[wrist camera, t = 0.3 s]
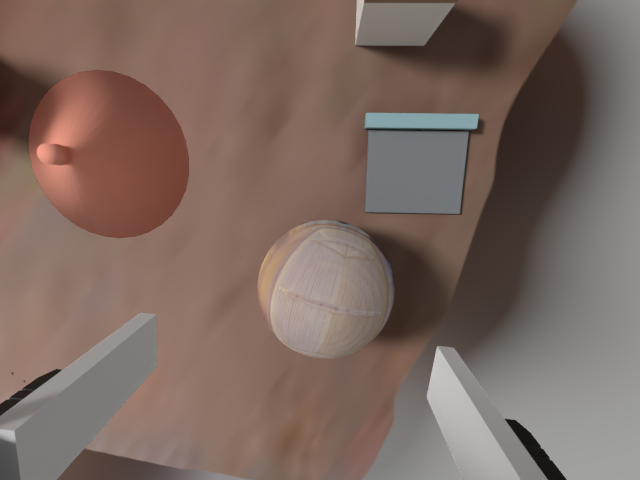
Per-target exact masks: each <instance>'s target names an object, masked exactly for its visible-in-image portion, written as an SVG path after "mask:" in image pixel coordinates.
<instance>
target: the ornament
mask: <svg viewBox="0 0 640 480" xmlns="http://www.w3.org/2000/svg"><path fill="white" fill-rule="evenodd" d="M258 301H259V305H260V309H261V312H262V315H263V317H264V319H265V321H266V323H267V325H268V327H269V328H270V329H271V331H272V332H273V333H274V335H275V336H276V337H277V338H278V339H279V340H280V341H281V342H283V343H284V344H285V345H286V346H288V347H289V348H291V349H292V350H294V351H296V352H298V353H301V354H304V355H307V356H310V357H315V358H337V357H342V356H346V355H349V354H352V353H354V352H356V351H358V350H360V349H362V348H363V347H365V346H366V345H367V344H369V343H370V342H371V341H372V340H373V339H374V338H375V337H376V336H377V335H378V334H379V333H380V331H381V330H382V329H383V327H384V325H385V324H386V322H387V320H388V318H389V315H390V313H391V309H392V306H393V301H394V278H393V273H392V269H391V266H390V264H389V261H388V259H387V257H386V255H385V253H384V252H383V250H382V249H381V247H380V246H379V245H378V244H377V242H376V241H375V240H373V239H372V238H371V237H370V236H369V235H368V234H367V233H365V232H364V231H362V230H361V229H359V228H357V227H355V226H353V225H350V224H348V223H345V222H340V221H335V220H317V221H311V222H307V223H304V224H301V225H299V226H297V227H295V228H293V229H291V230H290V231H288V232H287V233H285V234H284V235H283V236H282V237H280V238H279V239H278V240H277V241H276V242H275V244H274V245H273V246H272V247H271V249H270V250H269V252H268V253H267V255H266V257H265V259H264V261H263V263H262V266H261V269H260V273H259V278H258Z"/></svg>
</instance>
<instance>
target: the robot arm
mask: <svg viewBox="0 0 640 480" xmlns="http://www.w3.org/2000/svg"><path fill="white" fill-rule="evenodd" d="M156 367H157V347H156V314H147V313H139V314H137V315H136V316H135V317H133V318H132V319H131V320H129V321H128V322H127V323H125V324H124V325H123V326H121V327H120V328H119V329H117V330H116V331H114V332H113V333H112V334H110V335H109V336H108V337H106V338H105V339H104V340H102V341H101V342H100V343H98V344H97V345H96V346H94V347H93V348H91V349H90V350H89V351H87V352H86V353H85V354H83V355H82V356H81V357H79V358H78V359H77V360H75V361H74V362H73V363H71V364H70V365H68V366H67V367H66V368H64V369H63V370H59V369H56V370H54V371H52V372H49V373H47V374H45V375H43V376H41V377H38V378H37V379H35V380H34V381H33V382H31V383H30V384H28V385H27V386H25V387H24V388H23V389H22V391H18V392H17V393H16V394H14V395H13V396H11V397H10V399H9V400H6V401H4V402H3V403H1V404H0V480H57V478H58V477H59V476H60V475H61V474H62V473H63V471H64V470H65V469H66V468H67V467H68V466H69V465H70V464H71V463H72V462H73V460H74V459H75V458H76V457H77V456H78V455H79V454H80V453H81V451H82V450H83V449H84V448H85V447H86V446H87V445H88V444H89V442H90V441H91V440H92V439H93V438H94V437H95V436H96V435H97V433H98V432H99V431H100V430H101V429H102V428H103V427H104V426H105V424H106V423H107V422H108V421H109V420H110V419H111V418H112V417H113V415H114V414H115V413H116V412H117V411H118V410H119V409H120V408H121V406H122V405H123V404H124V403H125V402H126V401H127V400H128V399H129V397H130V396H131V395H132V394H133V393H134V392H135V391H136V390H137V388H138V387H139V386H140V385H141V384H142V383H143V382H144V381H145V379H146V378H147V377H148V376H149V375H150V374H151V373H152V372H153V370H154V369H155V368H156ZM427 399H428V402H429V404H430V406H431V409H432V411H433V413H434V415H435V418H436V420H437V422H438V425H439V427H440V429H441V432H442V434H443V436H444V438H445V441H446V443H447V445H448V448H449V450H450V452H451V455H452V457H453V459H454V462H455V464H456V466H457V468H458V471H459V473H460V475H461V477H462V480H566V478H565V477H564V476H563V475H562V473H561V472H560V471H559V469H558V468H557V467H556V465H555V464H554V463H553V462H552V461H551V460H550V459H549V456H548V455H547V454H546V453H545V451H544V450H543V449H541V446H540V445H539V444H538V442H537V441H536V440H535V438H534V437H533V436H532V434H531V433H530V432H529V431H528V430H526V429H525V428H524V427H523V426H522V425H520V424H519V423H518V422H517V421H516V420H510V419H504V418H503V416H502V415H501V413H500V412H499V411H498V409H497V408H496V406H495V405H494V404H493V402H492V401H491V399H490V398H489V397H488V395H487V394H486V392H485V391H484V390H483V388H482V387H481V385H480V384H479V383H478V381H477V380H476V378H475V377H474V376H473V374H472V373H471V371H470V370H469V369H468V367H467V366H466V365H465V363H464V361H463V360H462V359H461V357H460V356H459V354H458V353H457V352H456V350H455V349H454V348H451V347H442V346H437V350H436V355H435V360H434V365H433V369H432V374H431V379H430V383H429V388H428V393H427Z"/></svg>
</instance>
